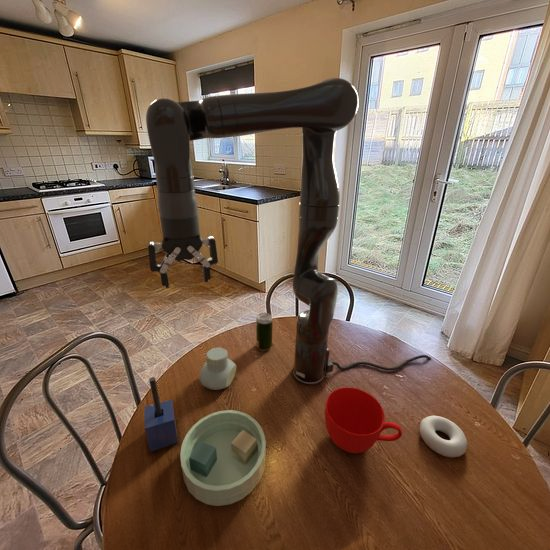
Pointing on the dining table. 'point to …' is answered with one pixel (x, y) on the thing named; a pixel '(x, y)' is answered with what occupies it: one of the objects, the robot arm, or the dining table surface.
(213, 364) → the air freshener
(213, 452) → the teal block
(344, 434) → the ceramic cup
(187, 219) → the robot arm
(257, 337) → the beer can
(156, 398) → the stick
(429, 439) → the donut
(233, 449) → the cream block
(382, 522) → the dining table surface
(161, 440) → the holder
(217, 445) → the bowl
